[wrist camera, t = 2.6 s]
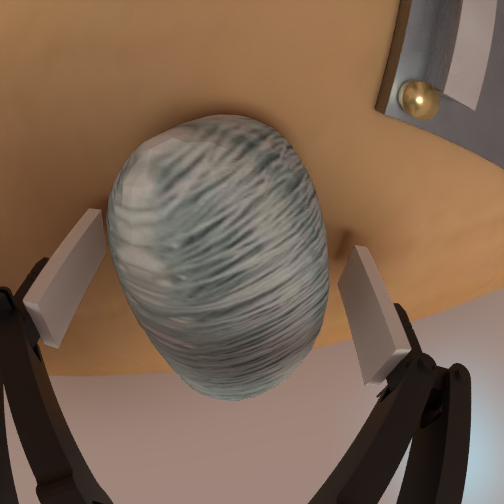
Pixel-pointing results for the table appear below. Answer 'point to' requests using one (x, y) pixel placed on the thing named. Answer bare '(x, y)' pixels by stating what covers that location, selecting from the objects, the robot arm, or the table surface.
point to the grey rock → (221, 253)
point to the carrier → (449, 72)
